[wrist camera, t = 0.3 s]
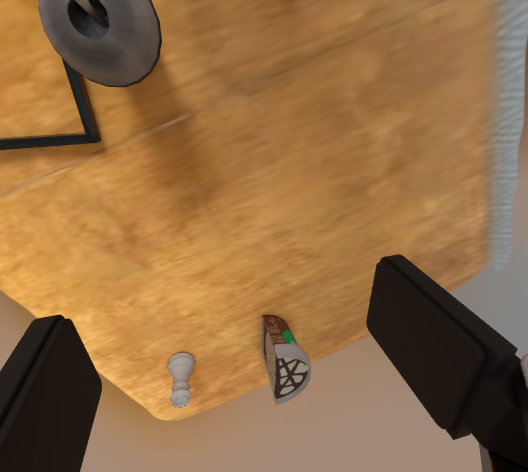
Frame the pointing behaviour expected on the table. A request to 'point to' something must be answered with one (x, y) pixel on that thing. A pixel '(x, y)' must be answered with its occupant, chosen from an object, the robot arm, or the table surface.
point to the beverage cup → (104, 37)
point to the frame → (63, 139)
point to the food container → (283, 359)
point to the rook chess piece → (180, 378)
